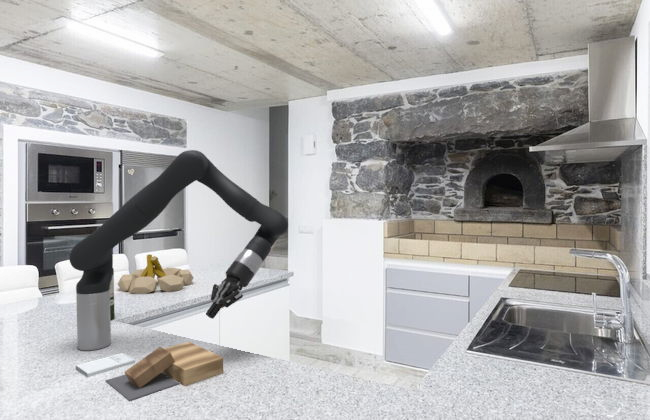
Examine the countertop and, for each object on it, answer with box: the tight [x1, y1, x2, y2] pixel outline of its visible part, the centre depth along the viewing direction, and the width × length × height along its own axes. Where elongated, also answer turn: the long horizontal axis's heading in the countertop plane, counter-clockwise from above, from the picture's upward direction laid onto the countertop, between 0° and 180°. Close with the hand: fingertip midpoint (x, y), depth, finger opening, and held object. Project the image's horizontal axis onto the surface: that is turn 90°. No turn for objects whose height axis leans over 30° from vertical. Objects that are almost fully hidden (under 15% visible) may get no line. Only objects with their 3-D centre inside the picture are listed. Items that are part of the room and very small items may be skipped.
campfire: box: [117, 253, 194, 295], centre depth 220 cm, size 35×34×17 cm
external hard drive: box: [75, 352, 136, 378], centre depth 118 cm, size 2×8×12 cm
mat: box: [105, 372, 180, 402], centre depth 107 cm, size 15×12×1 cm
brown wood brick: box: [124, 346, 175, 389], centre depth 108 cm, size 6×3×10 cm
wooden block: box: [162, 341, 224, 387], centre depth 115 cm, size 18×11×4 cm, turn 46°
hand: (209, 316), depth 120 cm, fingers closed
